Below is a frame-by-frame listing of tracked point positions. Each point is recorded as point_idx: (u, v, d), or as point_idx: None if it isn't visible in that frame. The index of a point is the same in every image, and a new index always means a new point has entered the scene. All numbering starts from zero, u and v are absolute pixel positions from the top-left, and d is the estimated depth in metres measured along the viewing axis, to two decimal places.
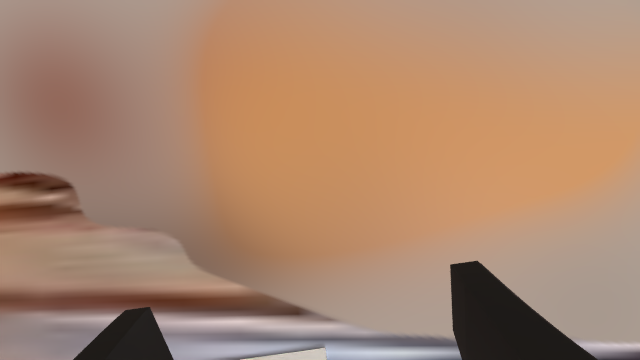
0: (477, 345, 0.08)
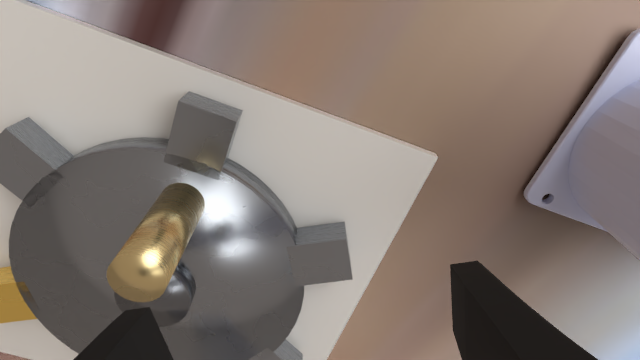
0: (477, 345, 0.08)
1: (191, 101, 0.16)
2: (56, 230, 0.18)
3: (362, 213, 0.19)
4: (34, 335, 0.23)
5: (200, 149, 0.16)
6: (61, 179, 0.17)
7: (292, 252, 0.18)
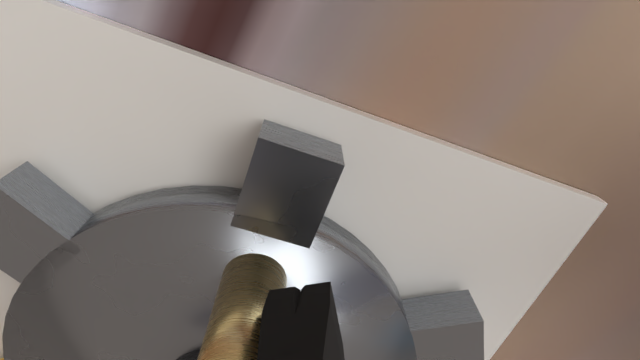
0: None
1: (275, 137, 0.10)
2: (71, 320, 0.12)
3: (490, 278, 0.14)
4: None
5: (286, 206, 0.11)
6: (77, 252, 0.11)
7: (405, 340, 0.13)
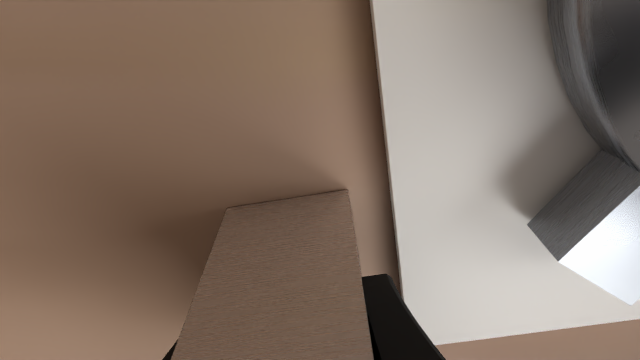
0: (375, 358, 0.08)
1: None
2: None
3: None
4: None
5: None
6: None
7: None
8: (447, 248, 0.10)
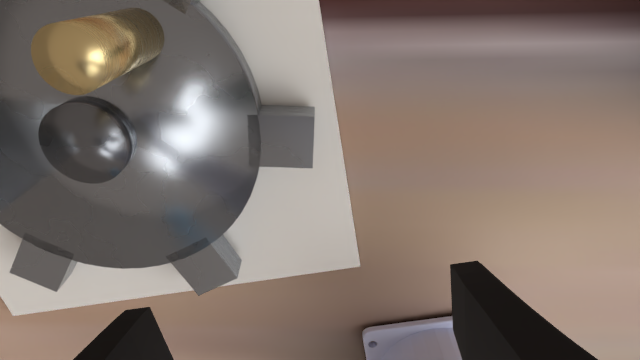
0: (477, 345, 0.08)
1: None
2: None
3: (281, 246, 0.21)
4: None
5: None
6: None
7: (253, 123, 0.17)
8: (4, 265, 0.21)
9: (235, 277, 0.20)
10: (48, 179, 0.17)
